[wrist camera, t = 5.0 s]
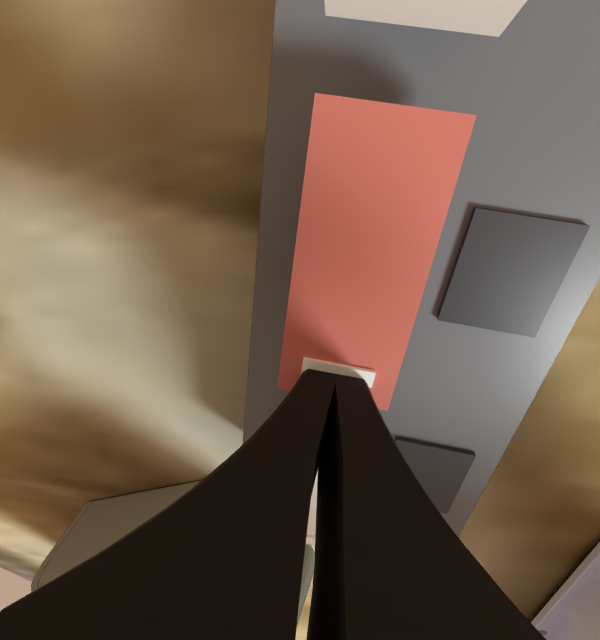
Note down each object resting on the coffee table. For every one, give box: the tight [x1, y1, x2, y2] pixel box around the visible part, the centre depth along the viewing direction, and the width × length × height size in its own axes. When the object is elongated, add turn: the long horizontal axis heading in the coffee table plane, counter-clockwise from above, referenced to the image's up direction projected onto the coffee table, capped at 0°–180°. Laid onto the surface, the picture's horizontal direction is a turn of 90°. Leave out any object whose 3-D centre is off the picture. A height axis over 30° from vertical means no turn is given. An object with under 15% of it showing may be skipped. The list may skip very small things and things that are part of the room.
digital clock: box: [31, 480, 315, 629], centre depth 17 cm, size 16×9×11 cm, turn 102°
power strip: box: [243, 0, 600, 536], centre depth 9 cm, size 26×8×4 cm, turn 173°
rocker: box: [277, 93, 477, 411], centre depth 8 cm, size 6×3×1 cm, turn 173°
